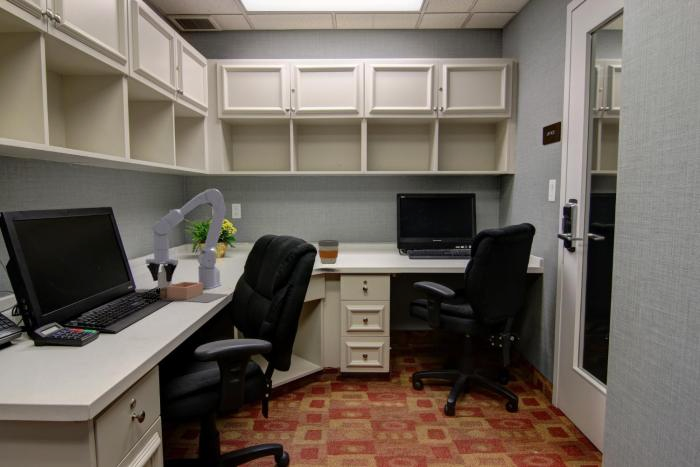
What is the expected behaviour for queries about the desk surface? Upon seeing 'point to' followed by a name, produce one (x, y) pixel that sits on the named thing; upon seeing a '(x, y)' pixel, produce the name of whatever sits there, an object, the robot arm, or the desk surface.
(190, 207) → the robot arm
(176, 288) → the socket block
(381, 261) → the desk surface
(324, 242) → the reusable coffee cup
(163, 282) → the eye dropper bottle
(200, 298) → the mat
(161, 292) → the end wall
